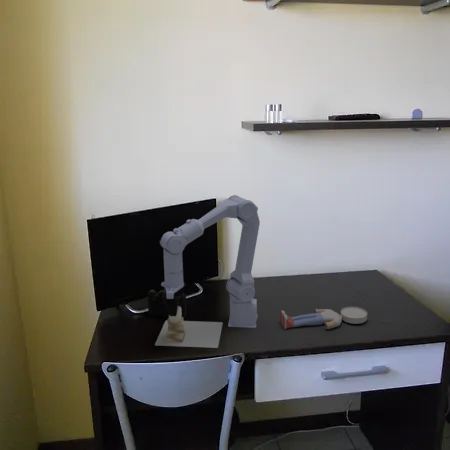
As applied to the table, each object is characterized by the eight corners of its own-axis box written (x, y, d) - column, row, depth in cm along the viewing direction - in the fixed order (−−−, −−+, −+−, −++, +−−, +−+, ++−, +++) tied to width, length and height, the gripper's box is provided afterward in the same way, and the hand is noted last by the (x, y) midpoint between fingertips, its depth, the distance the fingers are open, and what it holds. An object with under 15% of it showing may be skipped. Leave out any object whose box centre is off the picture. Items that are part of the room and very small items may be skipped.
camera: (193, 308, 179) (192, 283, 177) (183, 321, 170) (182, 295, 167) (157, 304, 183) (156, 279, 180) (146, 317, 173) (145, 291, 170)
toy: (287, 321, 158) (374, 311, 163) (277, 304, 170) (358, 296, 175) (287, 337, 160) (373, 327, 164) (277, 319, 172) (358, 310, 176)
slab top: (183, 325, 159) (183, 317, 158) (184, 332, 154) (183, 324, 154) (168, 326, 159) (167, 318, 158) (168, 334, 154) (167, 325, 153)
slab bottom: (185, 334, 160) (184, 326, 159) (182, 342, 155) (182, 333, 154) (170, 334, 160) (169, 325, 159) (167, 341, 155) (166, 333, 154)
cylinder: (182, 318, 158) (182, 305, 156) (180, 324, 154) (180, 311, 152) (170, 318, 158) (169, 305, 157) (168, 324, 154) (167, 311, 153)
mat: (222, 323, 168) (222, 322, 168) (217, 348, 151) (217, 347, 151) (165, 321, 170) (165, 320, 169) (154, 346, 153) (154, 345, 153)
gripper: (165, 261, 158) (167, 300, 162) (155, 278, 144) (157, 320, 148) (187, 262, 158) (188, 300, 161) (179, 279, 144) (180, 321, 147)
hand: (175, 310), depth 155 cm, fingers open, 7 cm apart
